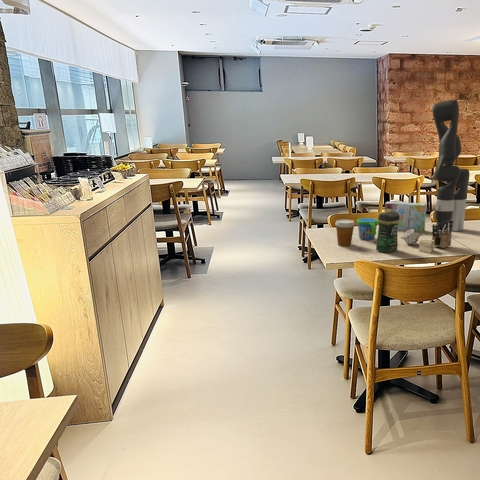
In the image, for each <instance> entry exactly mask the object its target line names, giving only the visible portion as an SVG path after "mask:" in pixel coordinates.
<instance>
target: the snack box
mask: <svg viewBox="0 0 480 480" xmlns="http://www.w3.org/2000/svg"><path fill="white" fill-rule="evenodd" d="M427 205H428V204H427V203H416V202H402V201H401V202H399V201H398V202H397V201H386V202H385V203H384V209H383V210H384V211H383V213H385V212H390V211H393V212H398V213H399V223H398V231H402V232H403V231H404V232H405V231H406V230H410V229H413V228H414V230H416V232H417V233H424V231H425V228H426V217H427V216H426V215H427ZM405 229H406V230H405Z"/></svg>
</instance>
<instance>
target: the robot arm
mask: <svg viewBox="0 0 480 480" xmlns="http://www.w3.org/2000/svg"><path fill="white" fill-rule="evenodd" d="M459 105H460V104H459V102H458V100H457V99H450V100H446V101H440V102H436V103H434V104H433V106H432V110H431V112H432V118H433V121H434V124H435V128H436V131H437V135H438V141H439V144H438V162H437V164H436V165H437V166H436V168H435V171H434V179H435V180H436V181H437V182H445V183H446V184H447V185H446V184H445V185H443V186H442V185H441V186H439V187H438V188H437V193H436V194H437V195H436V202H435V209H434V210H435V211H434V218H435V220H436V223H435V224H432V226H431V227H432V228H431V230H432V233H431V235H432V236H434V237H435V245H440V239H441V238H440V237H441V234H442V233H443V232H449V233H452V232H462V231H464V227H465V216H466V203H467V194H468V189H469V182H470V170H469V169H468V168H460V167H459V166H458V165H454V163H455V162H456V161H457V159H458V157H459V156H460V155H461V152H462V143H461V139H460V137H459V135H458V128H459V117H460V107H459ZM449 121H450V123H449V126H447V125H446V123H445V122H449ZM457 187H458V189H457V190H456V188H457ZM435 232H436V233H435Z"/></svg>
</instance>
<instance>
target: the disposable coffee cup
mask: <svg viewBox="0 0 480 480" xmlns="http://www.w3.org/2000/svg"><path fill="white" fill-rule="evenodd" d="M334 225H335V229H336V238H337V240H336V241H337V245H338V246H340V247H350V246H351V245H352V240H353V235H354V233H353V232H354V228H355V225H356V224H355V221H354V220H352V219H343V218H342V219H337V220H336V221H335V223H334Z"/></svg>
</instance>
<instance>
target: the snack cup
mask: <svg viewBox="0 0 480 480" xmlns="http://www.w3.org/2000/svg"><path fill="white" fill-rule="evenodd" d="M356 223H357V227H358V229H357V230H358V237H359V239H361V240H364V241H371V240H374V239H375V237H376V235H377V227H378V225H379V223H378V218H375V217H374V218H373V217H359V218H358V219H356Z"/></svg>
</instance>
